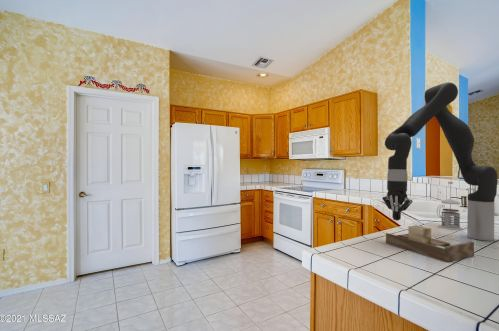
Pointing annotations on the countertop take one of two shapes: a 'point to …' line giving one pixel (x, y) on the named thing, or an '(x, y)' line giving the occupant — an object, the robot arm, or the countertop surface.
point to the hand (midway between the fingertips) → (396, 220)
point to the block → (419, 234)
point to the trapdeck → (433, 247)
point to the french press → (447, 220)
